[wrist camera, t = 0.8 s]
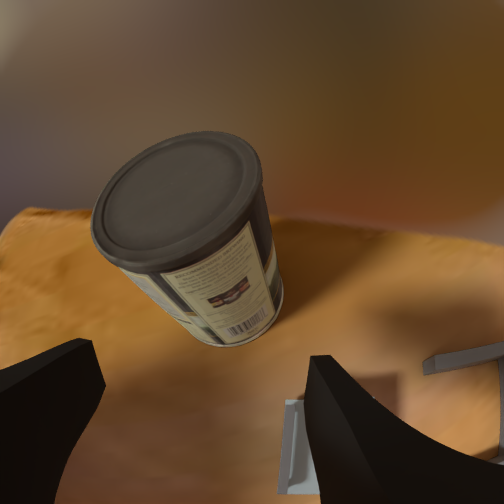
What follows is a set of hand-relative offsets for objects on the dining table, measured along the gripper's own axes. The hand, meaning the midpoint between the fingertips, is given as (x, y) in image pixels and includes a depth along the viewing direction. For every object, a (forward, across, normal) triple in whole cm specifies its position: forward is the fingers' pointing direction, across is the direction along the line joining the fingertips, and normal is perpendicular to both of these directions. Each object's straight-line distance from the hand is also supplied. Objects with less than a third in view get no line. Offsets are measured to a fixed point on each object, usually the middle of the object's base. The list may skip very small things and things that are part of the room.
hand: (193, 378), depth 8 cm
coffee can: (+18, +1, +4) cm, 18 cm away
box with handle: (+6, -7, +12) cm, 16 cm away
